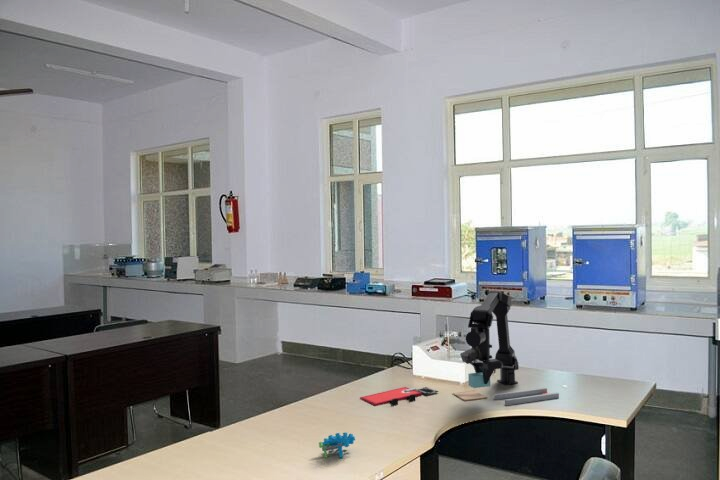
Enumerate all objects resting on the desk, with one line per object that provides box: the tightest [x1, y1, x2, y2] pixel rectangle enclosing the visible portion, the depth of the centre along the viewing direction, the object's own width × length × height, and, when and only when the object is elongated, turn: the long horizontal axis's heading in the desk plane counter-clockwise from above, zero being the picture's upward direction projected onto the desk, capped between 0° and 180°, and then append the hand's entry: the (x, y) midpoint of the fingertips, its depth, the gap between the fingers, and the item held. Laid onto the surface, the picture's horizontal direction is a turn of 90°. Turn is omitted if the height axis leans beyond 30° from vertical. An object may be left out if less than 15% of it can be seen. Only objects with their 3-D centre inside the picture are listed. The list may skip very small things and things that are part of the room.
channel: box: [493, 387, 560, 406], centre depth 215 cm, size 8×24×2 cm, turn 109°
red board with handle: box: [359, 386, 440, 407], centre depth 221 cm, size 30×3×15 cm
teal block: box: [468, 372, 491, 389], centre depth 208 cm, size 4×7×4 cm, turn 108°
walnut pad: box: [452, 389, 488, 402], centre depth 220 cm, size 10×10×1 cm
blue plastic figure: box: [318, 432, 356, 459], centre depth 165 cm, size 11×6×10 cm
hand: (482, 382), depth 209 cm, fingers closed on teal block, 4 cm apart
